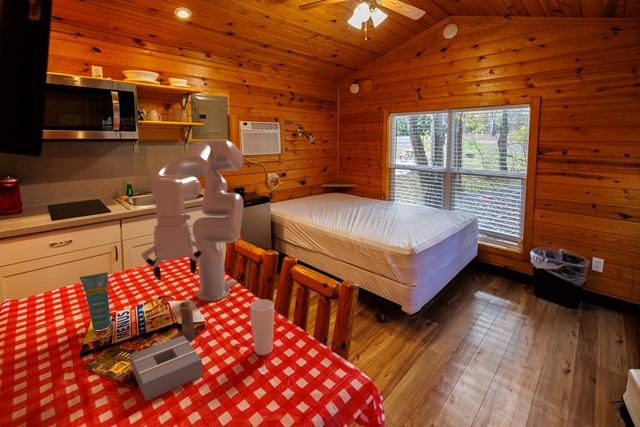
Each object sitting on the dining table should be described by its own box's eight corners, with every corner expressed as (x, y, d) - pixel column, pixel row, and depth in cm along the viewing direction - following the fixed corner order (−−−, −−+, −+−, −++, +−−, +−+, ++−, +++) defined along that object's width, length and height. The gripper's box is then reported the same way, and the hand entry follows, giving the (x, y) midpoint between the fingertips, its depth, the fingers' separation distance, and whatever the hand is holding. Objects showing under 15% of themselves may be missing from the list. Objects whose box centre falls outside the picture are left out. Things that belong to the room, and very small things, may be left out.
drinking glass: (278, 346, 102) (277, 301, 99) (268, 360, 96) (266, 312, 93) (259, 341, 105) (257, 297, 101) (247, 354, 98) (245, 308, 95)
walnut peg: (192, 334, 108) (189, 300, 106) (196, 339, 106) (193, 304, 103) (181, 338, 106) (178, 303, 103) (185, 343, 104) (181, 308, 101)
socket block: (184, 350, 100) (183, 334, 99) (202, 375, 90) (201, 358, 89) (132, 370, 92) (130, 353, 90) (145, 401, 81) (143, 382, 80)
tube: (88, 335, 108) (79, 279, 103) (89, 328, 111) (79, 274, 107) (116, 328, 112) (107, 274, 107) (115, 321, 115) (107, 269, 111)
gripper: (198, 215, 106) (202, 266, 110) (136, 221, 97) (142, 277, 100) (205, 219, 100) (208, 273, 104) (139, 226, 91) (145, 286, 94)
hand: (176, 275), depth 102 cm, fingers open, 9 cm apart
